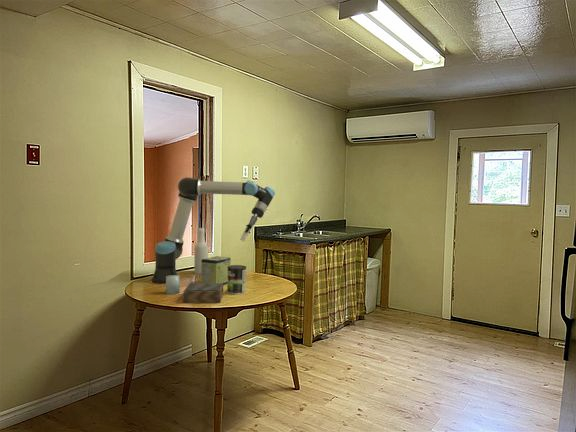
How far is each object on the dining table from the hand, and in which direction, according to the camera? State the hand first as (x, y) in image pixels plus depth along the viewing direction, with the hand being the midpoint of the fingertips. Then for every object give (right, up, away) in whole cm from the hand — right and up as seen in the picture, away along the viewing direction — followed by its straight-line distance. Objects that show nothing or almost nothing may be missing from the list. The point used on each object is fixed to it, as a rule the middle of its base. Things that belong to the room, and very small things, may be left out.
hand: (242, 239), depth 262 cm
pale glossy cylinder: (-34, -27, -33) cm, 55 cm away
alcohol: (-30, -24, +24) cm, 46 cm away
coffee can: (0, -28, -28) cm, 40 cm away
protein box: (-15, -27, -9) cm, 32 cm away
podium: (-15, -28, -43) cm, 54 cm away
